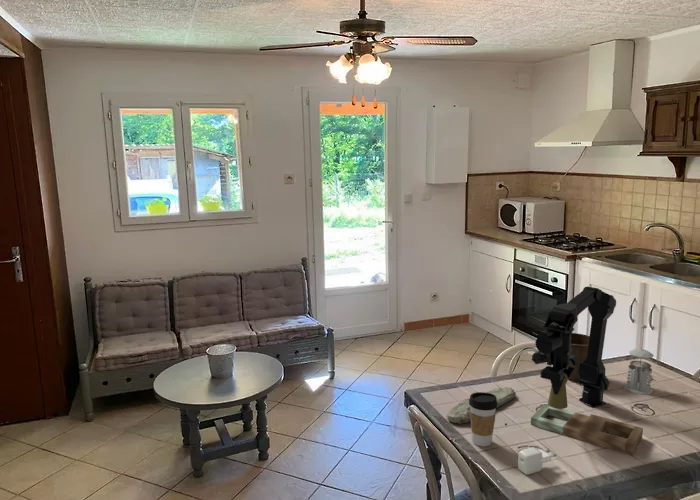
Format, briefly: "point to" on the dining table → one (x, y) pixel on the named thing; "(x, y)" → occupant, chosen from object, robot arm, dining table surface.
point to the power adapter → (533, 460)
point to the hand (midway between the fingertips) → (558, 391)
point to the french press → (639, 371)
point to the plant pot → (578, 352)
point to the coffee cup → (482, 417)
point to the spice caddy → (590, 429)
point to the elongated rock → (463, 409)
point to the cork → (559, 397)
